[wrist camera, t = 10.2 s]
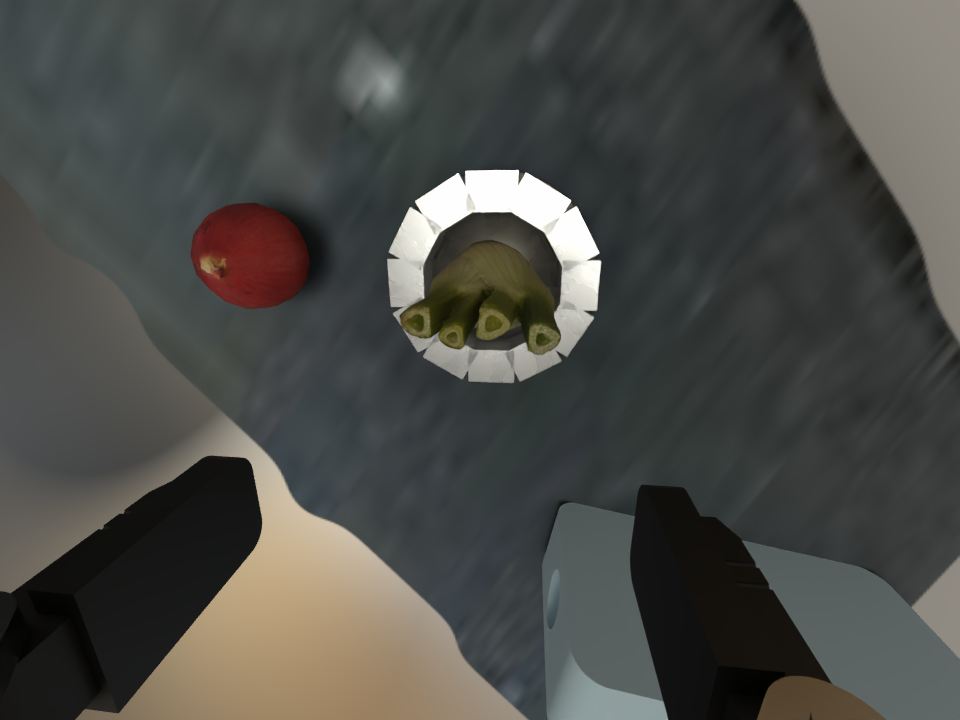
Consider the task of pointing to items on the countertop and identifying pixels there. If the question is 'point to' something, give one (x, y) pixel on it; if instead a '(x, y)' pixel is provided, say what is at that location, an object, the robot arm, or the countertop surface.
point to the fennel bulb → (486, 300)
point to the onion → (250, 255)
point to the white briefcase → (792, 576)
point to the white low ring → (515, 222)
